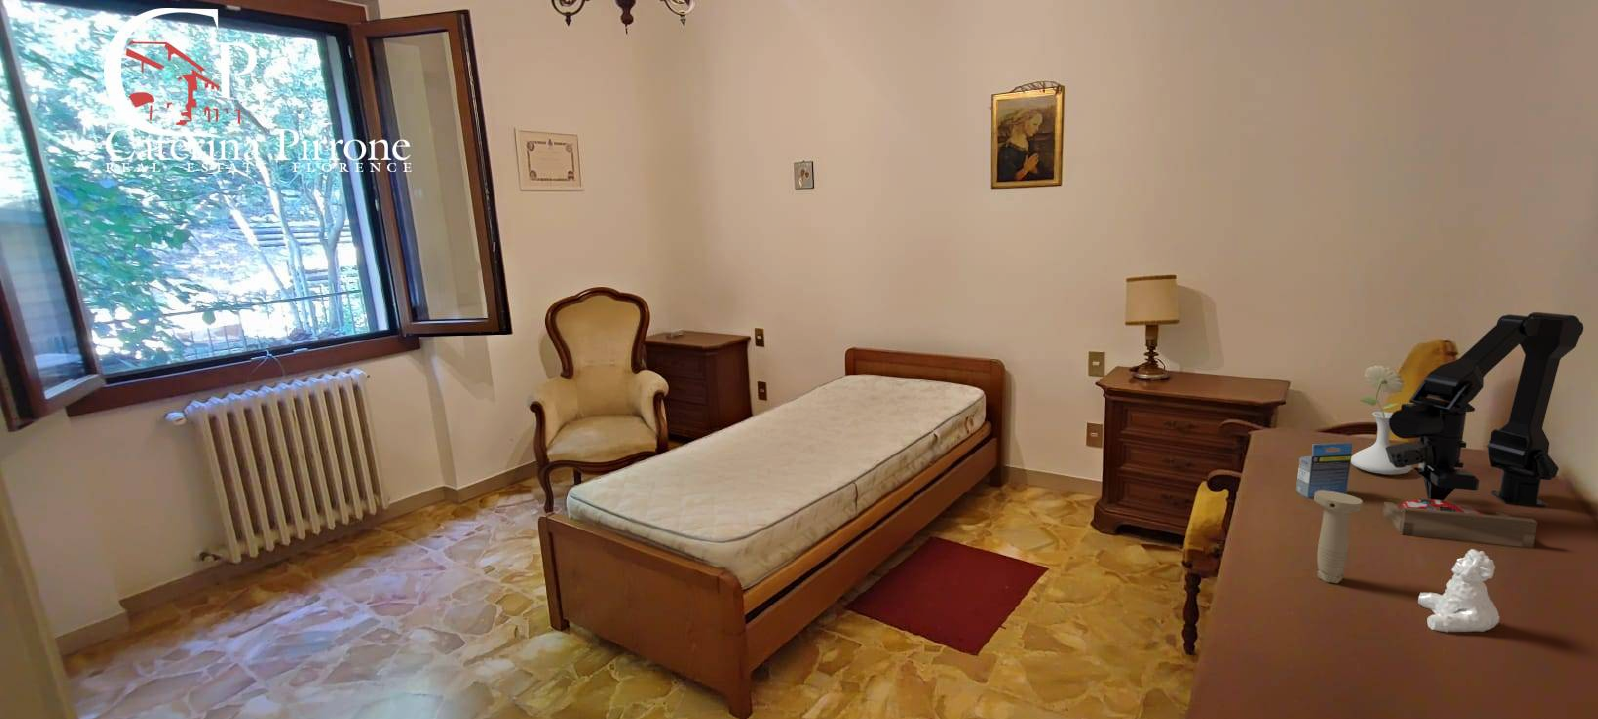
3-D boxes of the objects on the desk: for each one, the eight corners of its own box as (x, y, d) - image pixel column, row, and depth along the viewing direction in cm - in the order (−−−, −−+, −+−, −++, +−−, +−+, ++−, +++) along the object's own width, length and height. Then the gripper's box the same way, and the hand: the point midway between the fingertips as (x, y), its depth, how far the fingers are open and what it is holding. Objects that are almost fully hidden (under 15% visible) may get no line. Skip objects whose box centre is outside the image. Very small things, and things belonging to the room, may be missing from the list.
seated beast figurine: (1414, 600, 113) (1423, 531, 111) (1486, 613, 109) (1497, 541, 107) (1428, 630, 105) (1439, 556, 103) (1507, 645, 101) (1520, 568, 99)
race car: (1479, 520, 141) (1482, 501, 140) (1491, 531, 136) (1495, 511, 135) (1396, 511, 146) (1398, 493, 146) (1405, 521, 141) (1408, 503, 141)
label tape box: (1333, 489, 158) (1338, 437, 156) (1347, 496, 154) (1353, 442, 152) (1294, 491, 158) (1299, 439, 156) (1308, 498, 154) (1313, 444, 152)
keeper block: (1382, 513, 145) (1385, 490, 144) (1503, 524, 138) (1506, 500, 137) (1402, 534, 135) (1405, 510, 135) (1533, 547, 128) (1537, 522, 127)
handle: (1346, 591, 117) (1356, 506, 114) (1302, 577, 122) (1310, 495, 119) (1357, 582, 119) (1366, 498, 117) (1312, 568, 125) (1321, 488, 122)
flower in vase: (1424, 478, 162) (1437, 372, 157) (1373, 479, 162) (1386, 374, 158) (1378, 459, 175) (1390, 361, 170) (1332, 461, 175) (1342, 363, 170)
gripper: (1377, 418, 153) (1369, 486, 156) (1411, 444, 136) (1400, 519, 139) (1443, 422, 149) (1433, 491, 152) (1485, 449, 132) (1473, 527, 135)
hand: (1433, 506), depth 144 cm, fingers closed
